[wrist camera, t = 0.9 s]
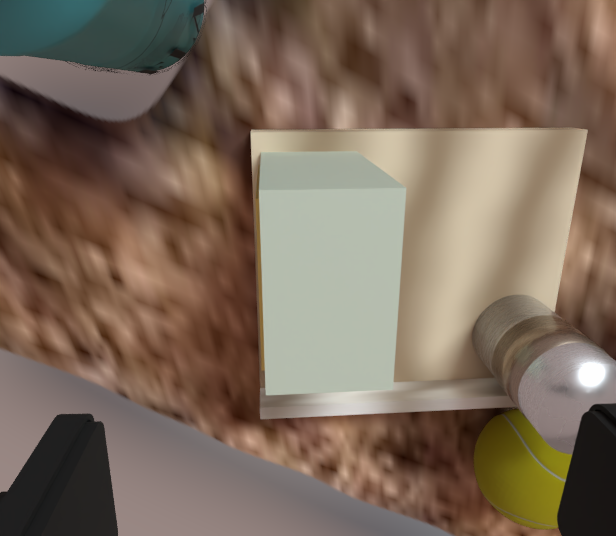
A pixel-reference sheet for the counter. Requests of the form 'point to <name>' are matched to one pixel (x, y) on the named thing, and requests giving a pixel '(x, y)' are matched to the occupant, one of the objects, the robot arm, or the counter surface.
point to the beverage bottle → (102, 31)
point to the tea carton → (328, 271)
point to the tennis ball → (520, 471)
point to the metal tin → (544, 366)
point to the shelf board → (450, 250)
